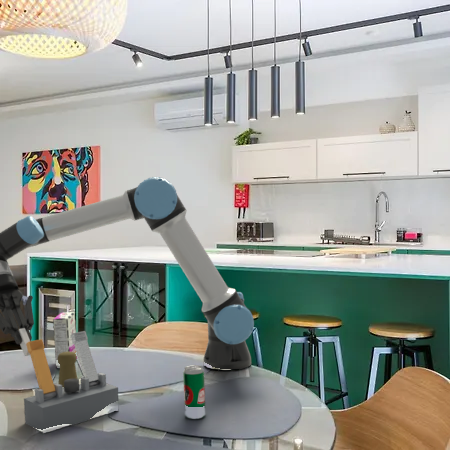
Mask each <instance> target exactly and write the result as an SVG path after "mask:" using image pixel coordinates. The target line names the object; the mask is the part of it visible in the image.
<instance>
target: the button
mask: <svg viewBox="0 0 450 450" xmlns="http://www.w3.org/2000/svg"><path fill="white" fill-rule="evenodd" d="M79 384H80V379H79V378H78V379H67V380H65V381H64V392H67V393H72V392H77V391H79Z"/></svg>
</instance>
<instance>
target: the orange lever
mask: <svg viewBox="0 0 450 450" xmlns="http://www.w3.org/2000/svg"><path fill="white" fill-rule="evenodd" d="M26 345H27V349H28V353H30V355H29V357H30V359H31V363H32V366H33V369H34V373H35V377H36V380H37V384H38V388H40V389H42V390H43V395H44V399H48V398H51V397H55V396H56V395H57V394H56V392H55V387H54V384H55V383H54V381H53V377H52V373H51V370H50V369H51V368H50V366H49V363H48V359H47V356H46V352H45V349H46V348H45V343H44V341H43V339H42V338H41V339H36V340H31V341H30V342H28V343H27V344H26Z"/></svg>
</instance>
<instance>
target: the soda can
mask: <svg viewBox="0 0 450 450" xmlns="http://www.w3.org/2000/svg"><path fill="white" fill-rule="evenodd" d="M182 375H183V376H182V377H183V378H182V379H183V381H182V382H183V401H184V403H183V404H185V405H186V406H188V407H203V406H205V407H206V390H205V389H206V387H205V386H206V385H205V370H204V367H203V366H202V365H197V364H192V365H191V364H190V365H187V366H184V370H183V372H182Z"/></svg>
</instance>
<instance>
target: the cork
mask: <svg viewBox="0 0 450 450" xmlns="http://www.w3.org/2000/svg"><path fill="white" fill-rule="evenodd" d="M76 359H77V360H78V356H76V354H75V353H74V352H62V353H60V354H59V355H58V363H59V364H60V369H59V371H58V373H59V374H58V382H57V383H58V384H60V385H62V387H64V381H65V380H67V379H79V378H78V373H77V368H76V363H77V360H76Z"/></svg>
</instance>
